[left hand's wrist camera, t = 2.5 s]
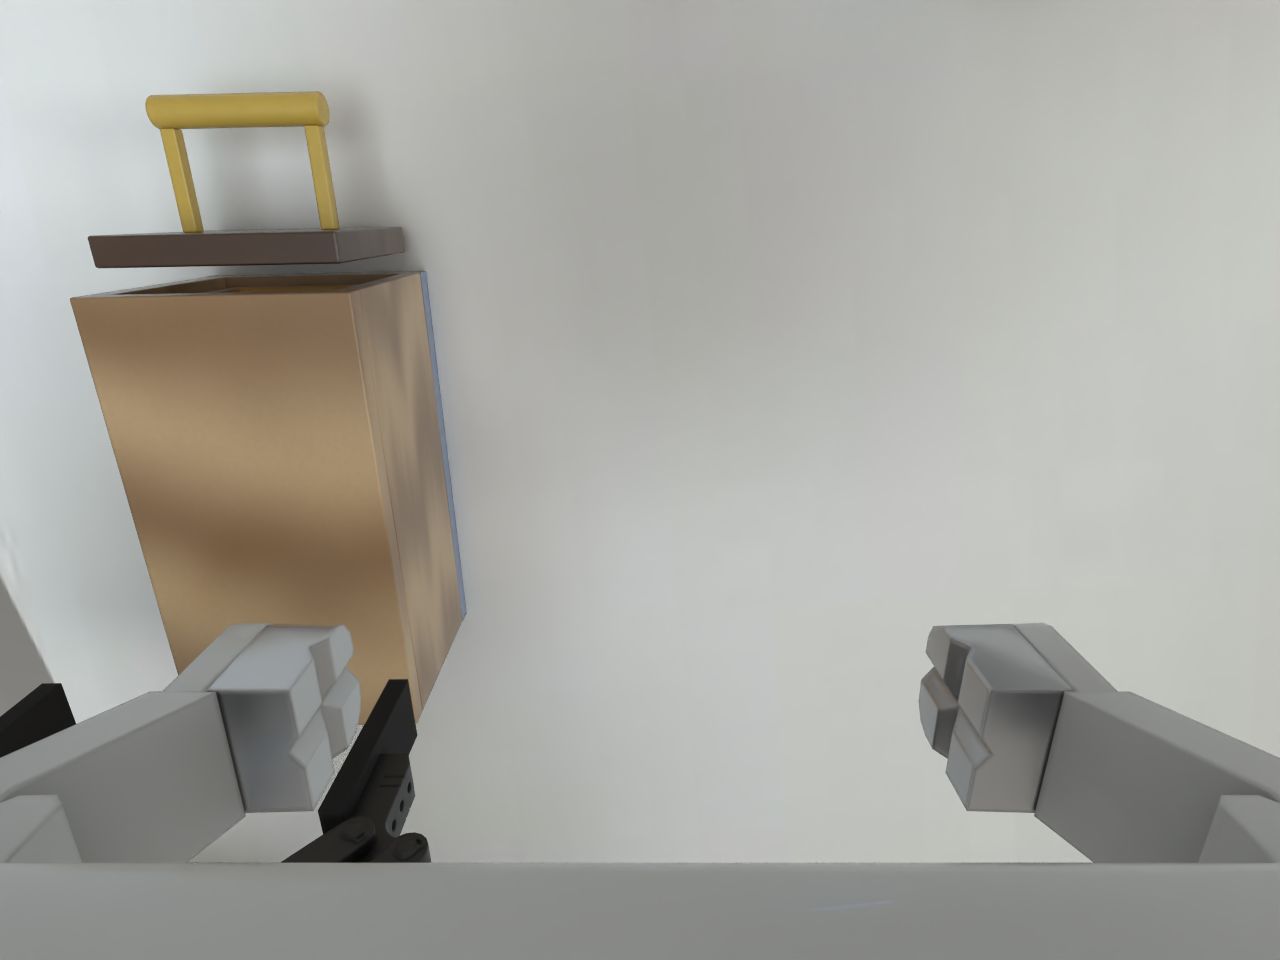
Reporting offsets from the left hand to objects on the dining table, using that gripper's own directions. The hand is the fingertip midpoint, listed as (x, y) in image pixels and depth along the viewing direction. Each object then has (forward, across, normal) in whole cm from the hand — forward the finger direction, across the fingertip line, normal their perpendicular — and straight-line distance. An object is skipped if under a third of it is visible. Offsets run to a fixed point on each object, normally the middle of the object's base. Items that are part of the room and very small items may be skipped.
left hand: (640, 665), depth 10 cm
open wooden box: (+30, +16, +7) cm, 35 cm away
